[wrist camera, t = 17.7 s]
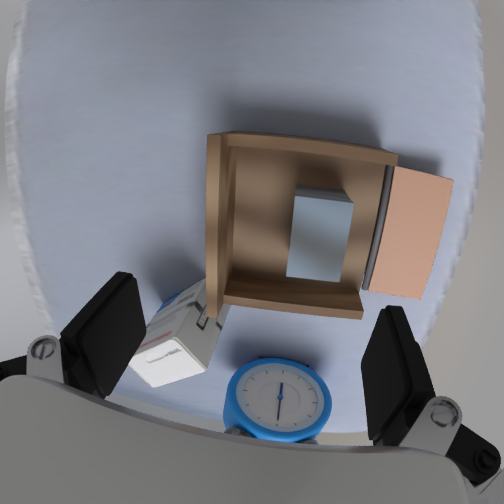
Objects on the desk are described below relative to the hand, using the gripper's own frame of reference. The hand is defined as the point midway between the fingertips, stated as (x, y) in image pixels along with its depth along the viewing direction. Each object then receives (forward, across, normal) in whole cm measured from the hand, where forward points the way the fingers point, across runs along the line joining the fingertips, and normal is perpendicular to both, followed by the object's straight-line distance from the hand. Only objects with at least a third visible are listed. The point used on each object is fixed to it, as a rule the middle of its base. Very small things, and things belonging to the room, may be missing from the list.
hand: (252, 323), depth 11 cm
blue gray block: (+19, -3, +3) cm, 20 cm away
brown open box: (+21, -2, +3) cm, 21 cm away
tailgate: (+19, -10, +3) cm, 22 cm away
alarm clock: (+20, -2, +26) cm, 33 cm away
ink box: (+21, +10, +16) cm, 28 cm away
